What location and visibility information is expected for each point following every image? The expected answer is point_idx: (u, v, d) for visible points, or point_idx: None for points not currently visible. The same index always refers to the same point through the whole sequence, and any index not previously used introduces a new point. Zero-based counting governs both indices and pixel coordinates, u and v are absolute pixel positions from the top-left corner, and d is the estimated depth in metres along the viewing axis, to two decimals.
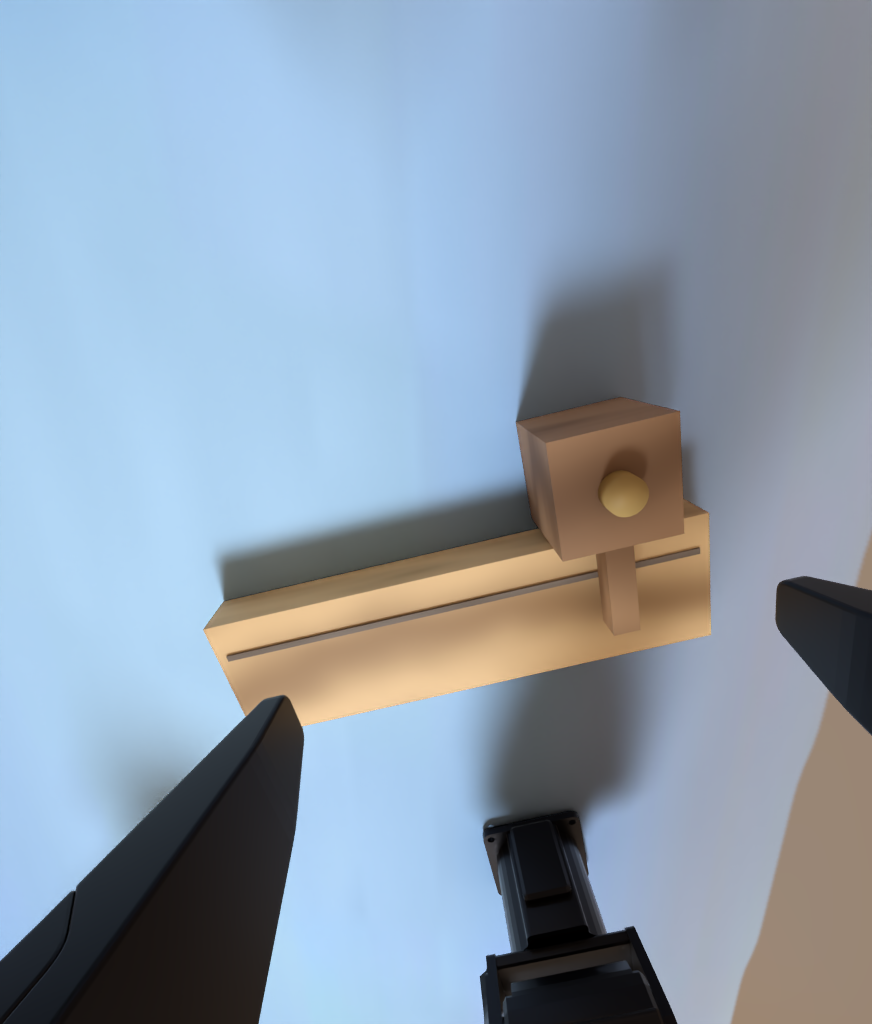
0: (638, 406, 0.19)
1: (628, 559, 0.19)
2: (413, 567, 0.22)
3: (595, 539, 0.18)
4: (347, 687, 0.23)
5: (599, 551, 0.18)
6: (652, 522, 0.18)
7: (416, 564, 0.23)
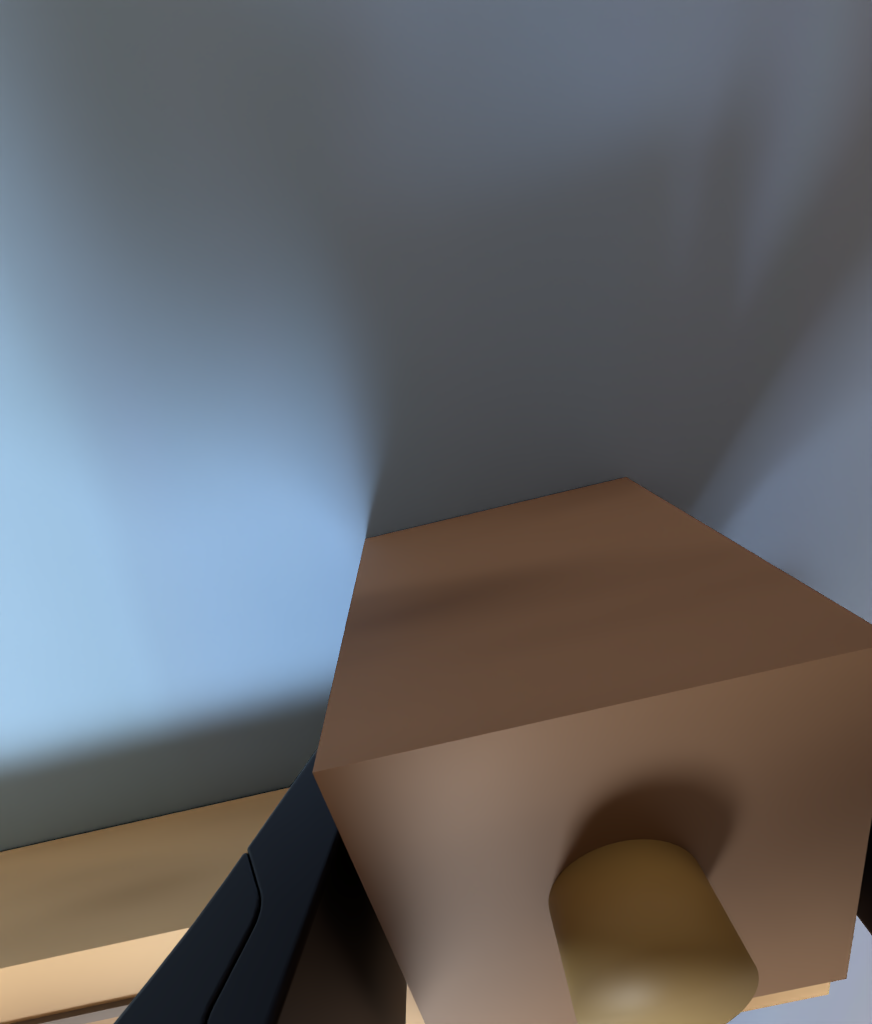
0: (688, 544, 0.06)
1: None
2: (144, 865, 0.10)
3: (547, 1009, 0.05)
4: None
5: None
6: None
7: (157, 852, 0.10)
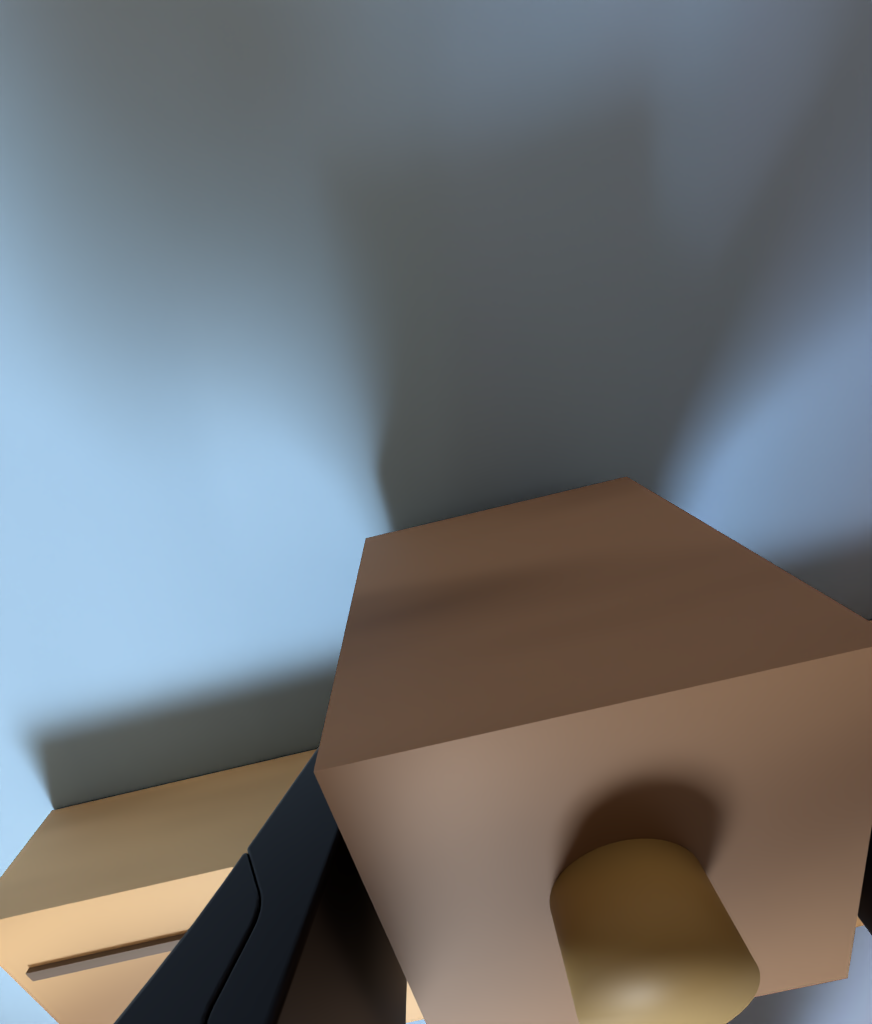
0: (689, 543, 0.06)
1: None
2: None
3: (548, 1008, 0.05)
4: None
5: None
6: None
7: None
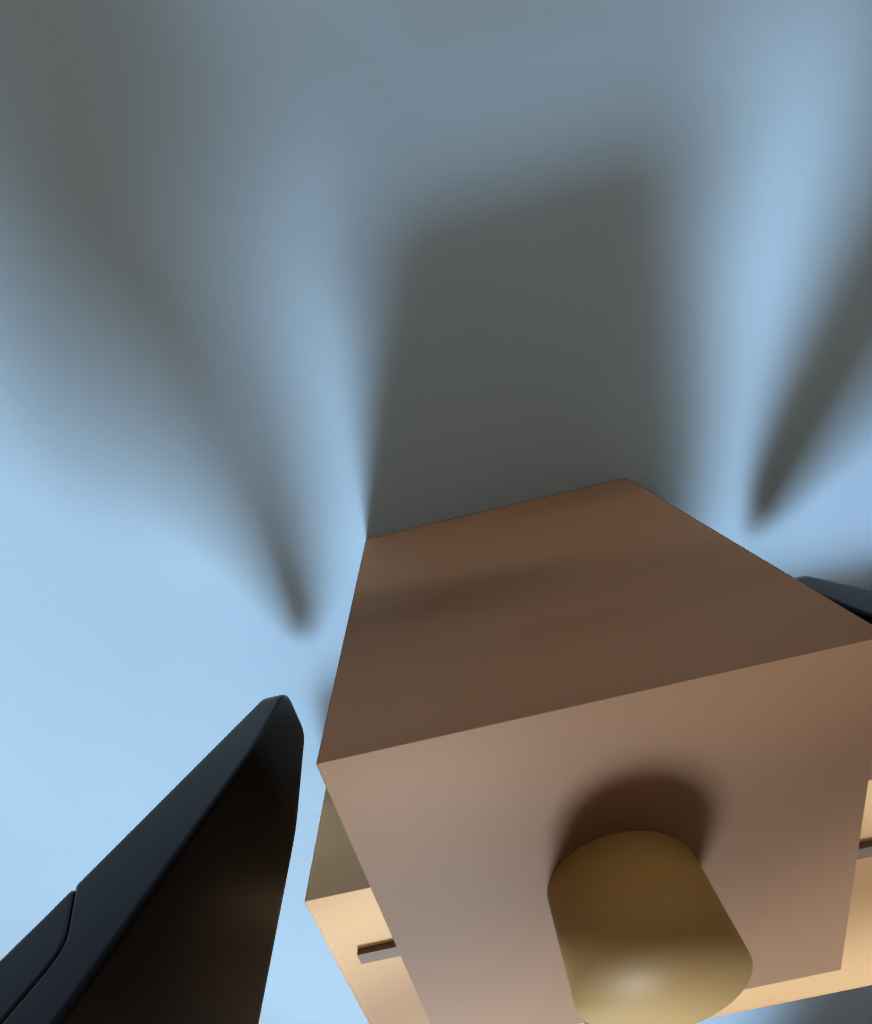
0: (685, 542, 0.06)
1: None
2: None
3: (546, 1000, 0.05)
4: None
5: None
6: None
7: None
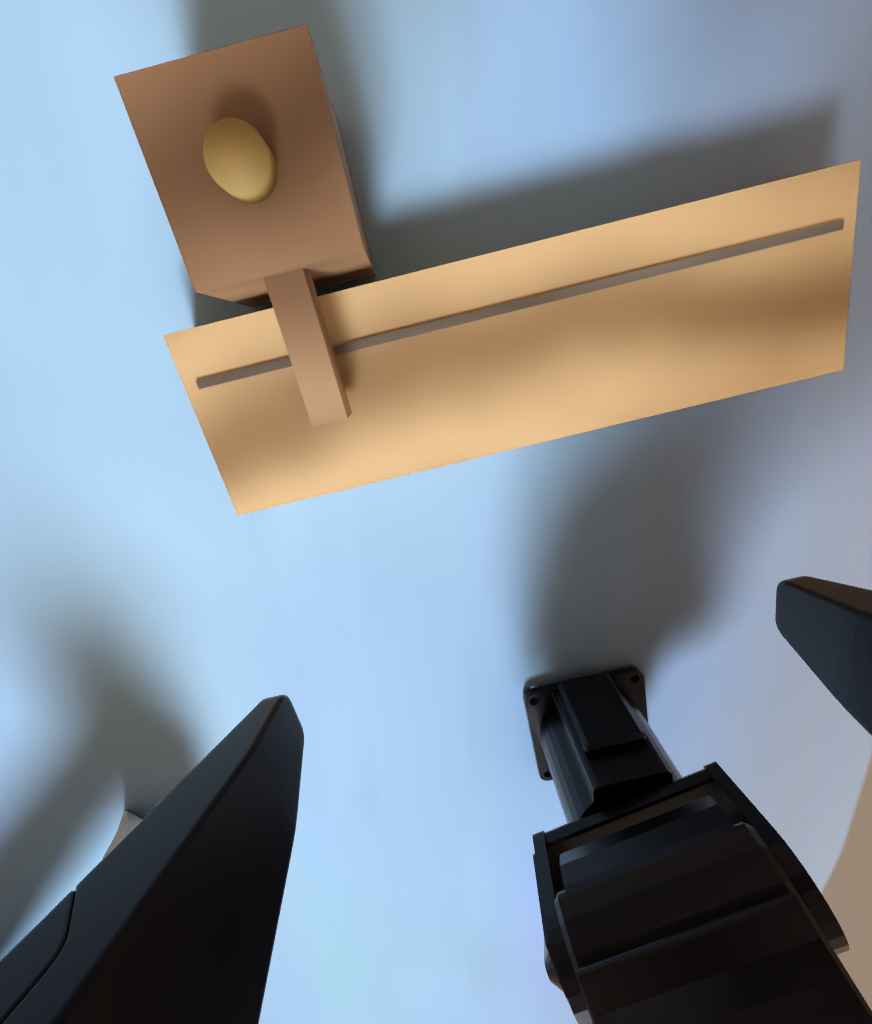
0: None
1: (302, 300, 0.14)
2: None
3: (234, 254, 0.13)
4: (359, 440, 0.17)
5: (244, 275, 0.13)
6: (311, 227, 0.13)
7: None
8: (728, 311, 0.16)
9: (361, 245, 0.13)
